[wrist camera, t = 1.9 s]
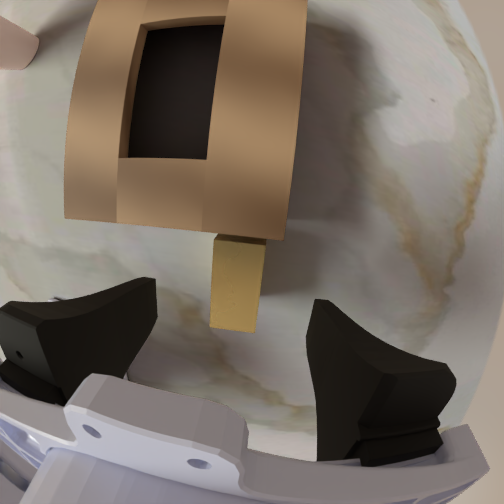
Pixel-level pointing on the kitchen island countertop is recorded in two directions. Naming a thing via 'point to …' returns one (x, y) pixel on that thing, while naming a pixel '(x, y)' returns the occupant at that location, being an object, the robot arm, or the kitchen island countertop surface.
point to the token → (236, 281)
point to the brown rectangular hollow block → (221, 126)
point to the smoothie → (16, 46)
